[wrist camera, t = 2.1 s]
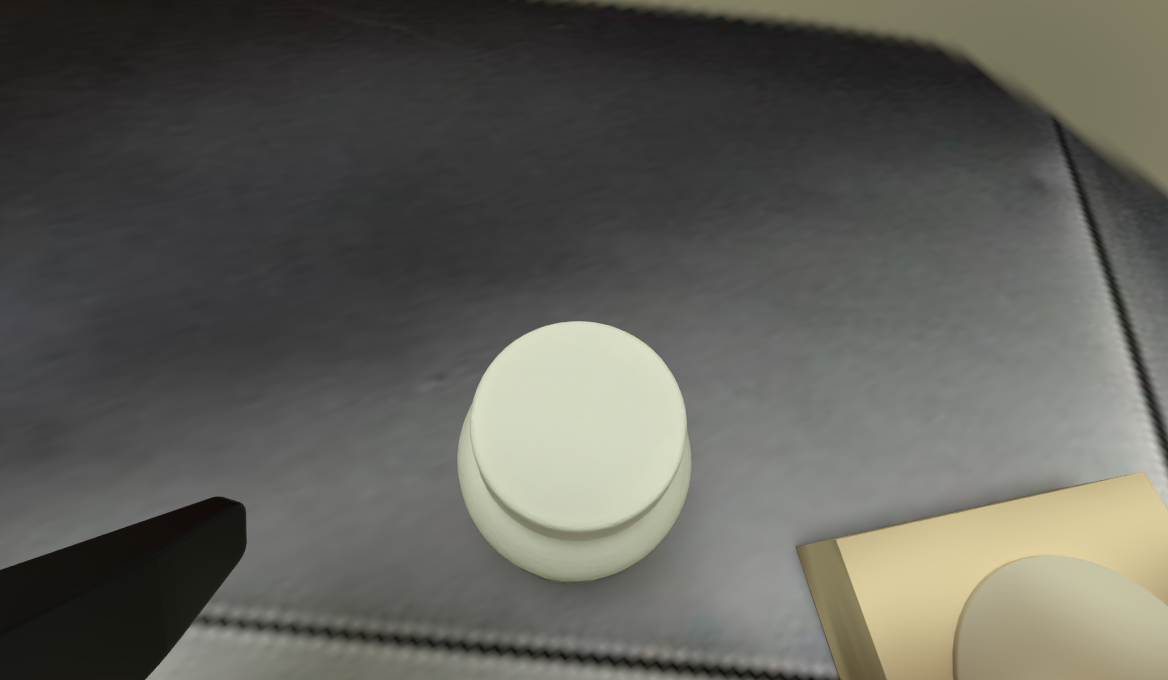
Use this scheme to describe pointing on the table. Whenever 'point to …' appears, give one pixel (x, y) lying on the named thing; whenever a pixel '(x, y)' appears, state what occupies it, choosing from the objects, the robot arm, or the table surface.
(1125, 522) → the pedestal
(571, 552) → the pill bottle
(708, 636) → the table surface
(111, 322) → the table surface
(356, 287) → the table surface
